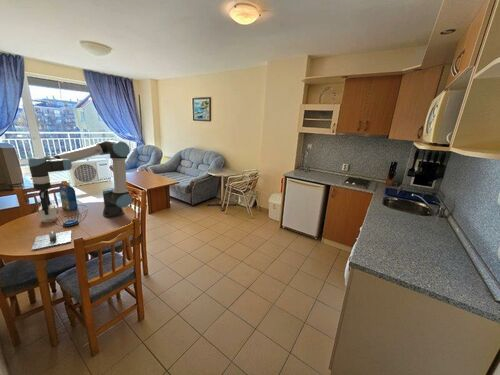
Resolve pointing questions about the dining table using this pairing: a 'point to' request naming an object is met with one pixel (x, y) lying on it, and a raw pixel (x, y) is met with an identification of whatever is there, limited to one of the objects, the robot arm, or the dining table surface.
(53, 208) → the white box
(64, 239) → the panel
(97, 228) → the dining table surface
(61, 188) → the blue food package
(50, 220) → the teacup with lid
